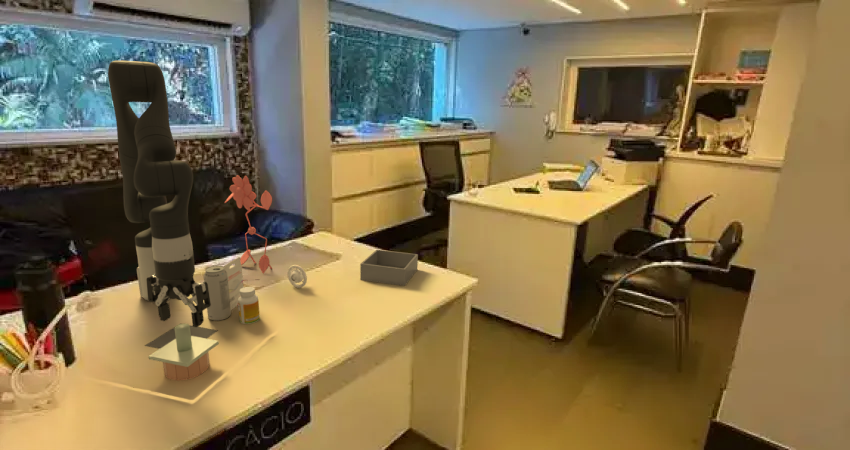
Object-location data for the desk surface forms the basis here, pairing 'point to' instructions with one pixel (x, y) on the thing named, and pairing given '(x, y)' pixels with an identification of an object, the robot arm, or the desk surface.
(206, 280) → the energy drink can
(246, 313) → the supplement bottle
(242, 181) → the pink flower figurine
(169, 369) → the bowl
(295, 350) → the desk surface
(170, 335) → the mat
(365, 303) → the desk surface
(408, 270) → the tray
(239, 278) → the ink cartridge box
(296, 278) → the white round piece
